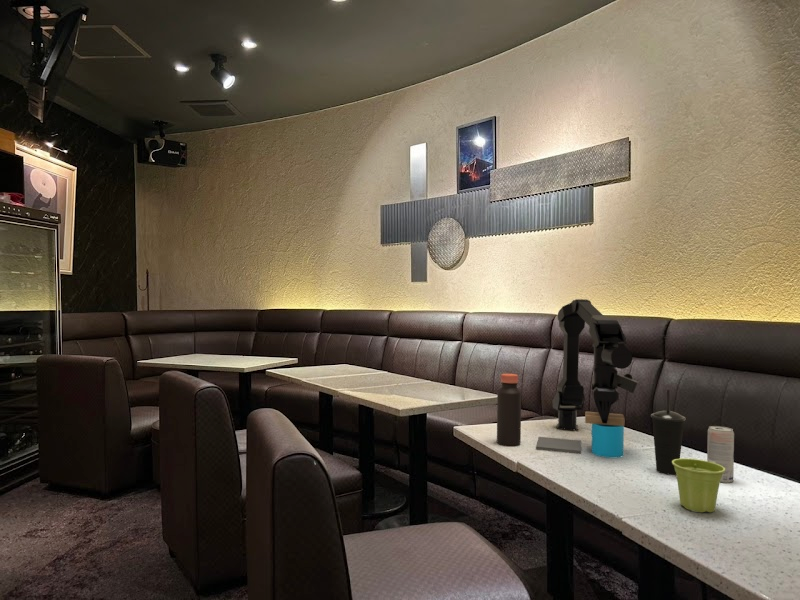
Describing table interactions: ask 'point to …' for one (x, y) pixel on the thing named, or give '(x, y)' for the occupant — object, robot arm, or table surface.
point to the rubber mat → (559, 445)
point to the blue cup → (607, 440)
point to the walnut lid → (612, 420)
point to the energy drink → (721, 450)
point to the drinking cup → (667, 438)
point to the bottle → (509, 411)
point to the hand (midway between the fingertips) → (603, 420)
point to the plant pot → (698, 483)
